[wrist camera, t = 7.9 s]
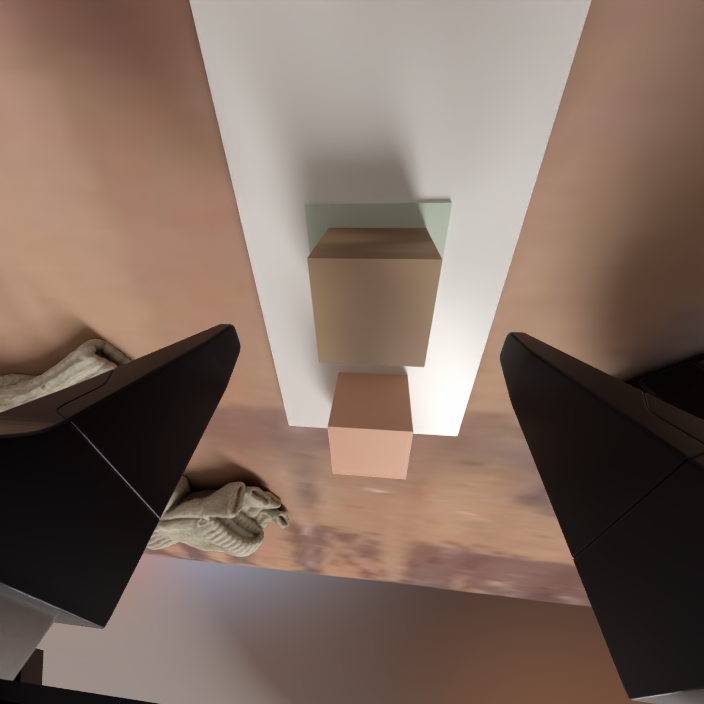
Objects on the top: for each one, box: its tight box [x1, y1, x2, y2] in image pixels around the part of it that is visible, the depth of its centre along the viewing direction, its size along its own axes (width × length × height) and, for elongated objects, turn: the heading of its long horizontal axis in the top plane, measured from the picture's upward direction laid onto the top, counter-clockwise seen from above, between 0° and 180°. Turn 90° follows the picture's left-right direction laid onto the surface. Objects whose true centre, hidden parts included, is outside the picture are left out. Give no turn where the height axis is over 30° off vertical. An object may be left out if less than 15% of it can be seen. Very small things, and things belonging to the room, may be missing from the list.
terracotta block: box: [328, 372, 413, 479], centre depth 18 cm, size 4×4×4 cm
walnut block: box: [307, 228, 442, 367], centre depth 13 cm, size 4×4×4 cm
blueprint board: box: [189, 0, 591, 436], centre depth 15 cm, size 25×13×1 cm, turn 1°
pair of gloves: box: [0, 339, 289, 557], centre depth 30 cm, size 30×26×5 cm
